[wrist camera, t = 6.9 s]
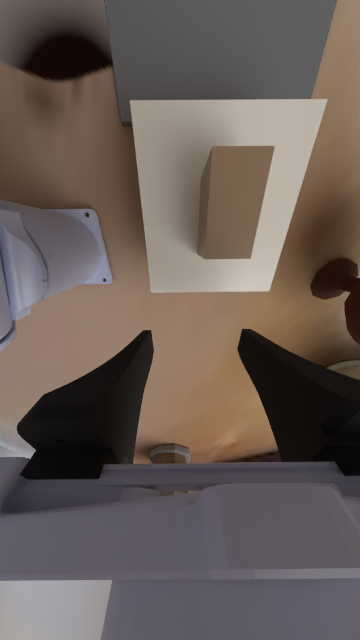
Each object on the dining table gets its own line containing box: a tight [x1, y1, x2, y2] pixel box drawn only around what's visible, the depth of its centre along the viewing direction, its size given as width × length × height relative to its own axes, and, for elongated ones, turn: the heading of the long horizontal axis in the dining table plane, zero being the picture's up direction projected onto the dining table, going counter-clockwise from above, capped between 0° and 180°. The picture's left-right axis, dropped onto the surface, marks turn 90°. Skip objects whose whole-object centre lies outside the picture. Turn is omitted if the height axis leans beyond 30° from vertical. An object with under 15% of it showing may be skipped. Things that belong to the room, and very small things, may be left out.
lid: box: [130, 99, 328, 293], centre depth 10 cm, size 12×12×5 cm
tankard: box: [149, 444, 191, 496], centre depth 42 cm, size 20×13×15 cm, turn 8°
